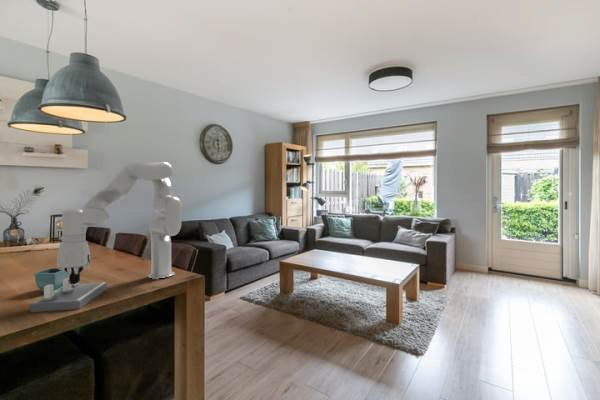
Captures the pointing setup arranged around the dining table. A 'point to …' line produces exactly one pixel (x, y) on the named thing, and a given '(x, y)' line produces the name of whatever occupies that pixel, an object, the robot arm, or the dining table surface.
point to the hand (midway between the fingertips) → (74, 283)
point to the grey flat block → (70, 298)
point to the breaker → (48, 293)
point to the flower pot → (50, 278)
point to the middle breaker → (66, 286)
